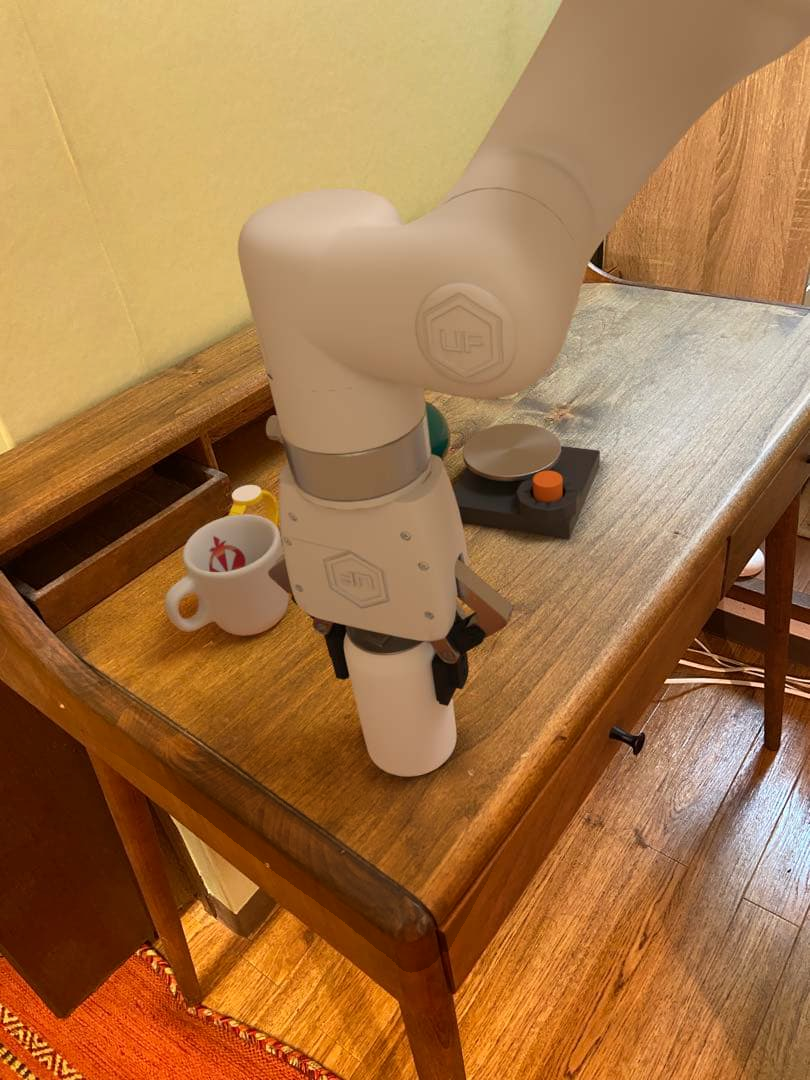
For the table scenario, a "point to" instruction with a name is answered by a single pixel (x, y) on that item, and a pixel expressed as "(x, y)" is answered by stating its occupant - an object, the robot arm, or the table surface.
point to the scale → (529, 497)
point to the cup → (231, 576)
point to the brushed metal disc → (511, 452)
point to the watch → (254, 501)
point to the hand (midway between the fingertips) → (399, 674)
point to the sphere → (437, 431)
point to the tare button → (547, 486)
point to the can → (399, 702)
